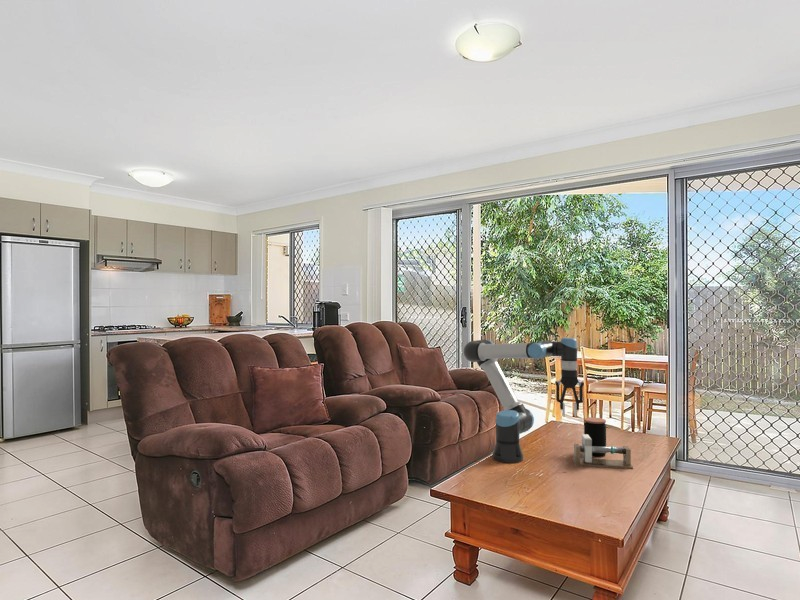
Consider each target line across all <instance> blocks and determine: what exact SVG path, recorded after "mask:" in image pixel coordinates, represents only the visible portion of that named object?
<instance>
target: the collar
mask: <svg viewBox="0 0 800 600" xmlns="http://www.w3.org/2000/svg"><path fill="white" fill-rule="evenodd" d="M581 446H584V452H581V458H583V459H584V461H585V462H592V459H593V456H592V439H591V438H590V436H589V435H588V434H584V433H581Z"/></svg>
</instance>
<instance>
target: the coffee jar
mask: <svg viewBox="0 0 800 600" xmlns="http://www.w3.org/2000/svg"><path fill="white" fill-rule="evenodd" d="M583 421H584V423H583V434H588V435H589V436H590V438H591V439H592V446H601V447H607V425H606V422H607V420H606V419H605V418H602V417H601V418H600V417H591V416H590V417H585V418H584V419H583ZM606 454H607V453H593V452H592V457H595V458H599V457H605V455H606Z"/></svg>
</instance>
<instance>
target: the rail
mask: <svg viewBox="0 0 800 600" xmlns="http://www.w3.org/2000/svg"><path fill="white" fill-rule="evenodd" d="M631 451H632V450H631V448H630V447H629V446H627V445H623V446H622V447H621V446H620V447H619V446H618V447H617V446H606V447H601V446H592V452H593V453H606V454H611V455H616V454H617V455H618V454H619V455H622V459H608V458H607V459H606V458H592V462H585V461H584V459H583V457H581V453H582V452H584V446H582V445H579V444H578V443H574V444H573V457H572V461H573V463H574V465H575V466H576V467H592V468H594V467H595V468H609V469H610V468H612V469H613V468H615V469H629V470H631V469H632V470H634V466H633V465H632V461H631V459H632V456H631V454H632V453H631Z"/></svg>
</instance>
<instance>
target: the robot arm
mask: <svg viewBox="0 0 800 600" xmlns="http://www.w3.org/2000/svg"><path fill="white" fill-rule="evenodd" d="M463 356H464V358H465V359H466V360H467V361H469V362H470V363H477V365H478V367H479V368H480V369H483V371H484V373H485V375H486V376H487V379H488V381H489V382H490V384H491V386H492V389H493V390H494V392H495V394H496V396H497V399H498V400H499V402H500V403H501V406H502V408H503V410H500V411H498V412H497V413H496V415H495V445H494V448H493V451H492V459H493V460H494V461H496V462H499V463H508V464H511V463H512V464H515V463H520V462H523V460H524V454H523V450H522V448H521V444H520V434H524V433H526V432H529V430H531V428H532V427H533V426H534V423H535V422H534V421H535V418H534V415H533V413H532V411H531V410H529V409H528V408H526V407H525V405H524V403H523V402H521V401H519V400H518V397H517V396H516V394H515V392H514V391H513V389H512V387H511V385H510V383H509V381H508V380H507V378H506V376H505V373H504V372H503V370H502V368H501V366H500V364H499V362H498V360H499V359H500V360H501V359H536V360H540V359H542V358H543V359H544V358H549V357H559V358H560V362H561V363H560V367H561V373H560V374H561V375H560V377H561V378H560V380H555V381H554V384H555V386H556V387H555V388H556V389H555V390H556V395H555V396H556V397H555V398H556V399H555V400H556V402H557V403H559V406H560V407H559V409H560V410H561V411H562V417H565V416H566V407H565V406H566V404H565V402H564V400H565V396H566V393H567V389H571V390H572V393H573V397H574V401H575V402H573V403H574V404H573V410H574V411H573V417H574V418H577V416H578V415H577V414H578V413H577V412H578V411H579V410H580V404H582V403H583V401H584V392H583V388H584V382H583V381H580V380H578V370H577V369H578V340H577V338H575V337H574V338H573V337H562V338H560V341H551V340H540V341H538V342H521V343H517V342H516V343H515V342H514V343H494V342H493V341H491V340H489V339H479V340H470V341H469V342H467V343H466V344H465V346H464V348H463ZM561 384H562V385H563V388H562V391H561V397H560V386H561ZM577 385H578V388H579V389H578V390H579V391H578V392H579V395H578V393H577V391H576V386H577ZM578 396H579V397H578Z"/></svg>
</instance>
